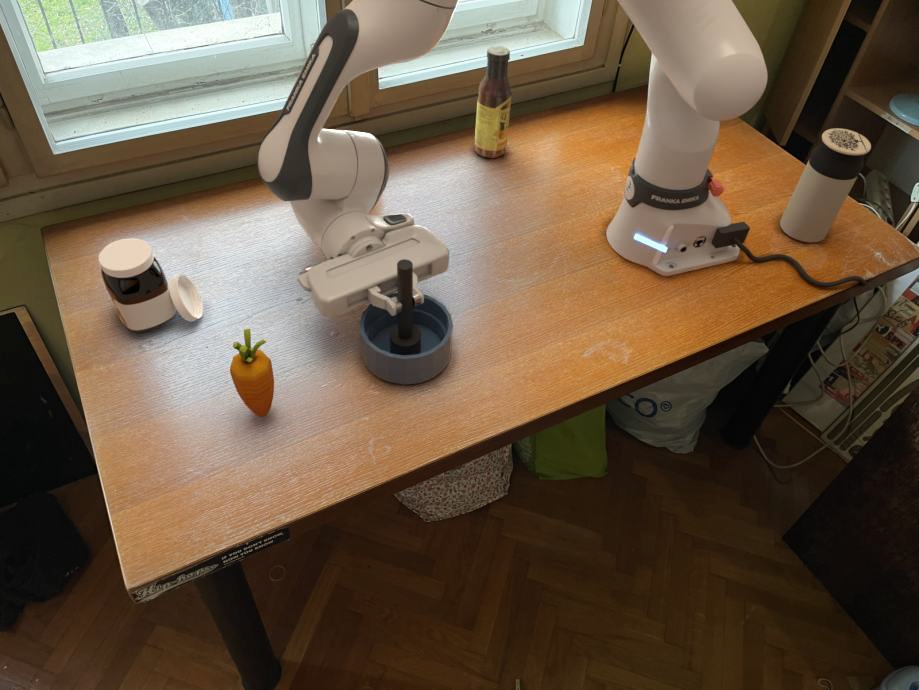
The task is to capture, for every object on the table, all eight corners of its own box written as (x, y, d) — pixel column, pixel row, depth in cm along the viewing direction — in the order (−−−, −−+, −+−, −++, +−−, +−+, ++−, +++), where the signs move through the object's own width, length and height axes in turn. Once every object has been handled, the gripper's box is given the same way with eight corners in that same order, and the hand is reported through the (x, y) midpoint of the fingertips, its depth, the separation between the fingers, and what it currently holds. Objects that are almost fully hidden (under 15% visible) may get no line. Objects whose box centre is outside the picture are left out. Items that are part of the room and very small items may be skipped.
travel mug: (779, 238, 126) (822, 148, 113) (778, 212, 131) (819, 123, 118) (826, 248, 125) (875, 158, 112) (823, 221, 130) (870, 132, 117)
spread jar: (110, 305, 107) (83, 244, 99) (183, 276, 112) (164, 216, 104) (140, 354, 101) (114, 293, 93) (216, 321, 106) (198, 261, 98)
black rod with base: (419, 337, 105) (419, 251, 93) (422, 359, 102) (424, 274, 90) (388, 339, 104) (386, 254, 93) (391, 362, 102) (389, 277, 90)
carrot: (257, 396, 97) (237, 318, 86) (289, 408, 96) (273, 330, 85) (236, 423, 94) (212, 345, 83) (268, 436, 93) (249, 359, 82)
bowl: (444, 317, 109) (445, 288, 105) (457, 382, 100) (459, 353, 96) (359, 324, 107) (356, 295, 103) (365, 391, 99) (363, 362, 94)
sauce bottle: (502, 162, 138) (513, 62, 124) (470, 157, 139) (477, 57, 124) (508, 144, 143) (518, 45, 128) (477, 139, 143) (484, 40, 129)
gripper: (289, 255, 97) (337, 318, 89) (418, 209, 105) (472, 262, 98) (294, 290, 101) (340, 352, 94) (417, 242, 110) (469, 296, 102)
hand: (408, 306), depth 96 cm, fingers closed on black rod with base, 2 cm apart
